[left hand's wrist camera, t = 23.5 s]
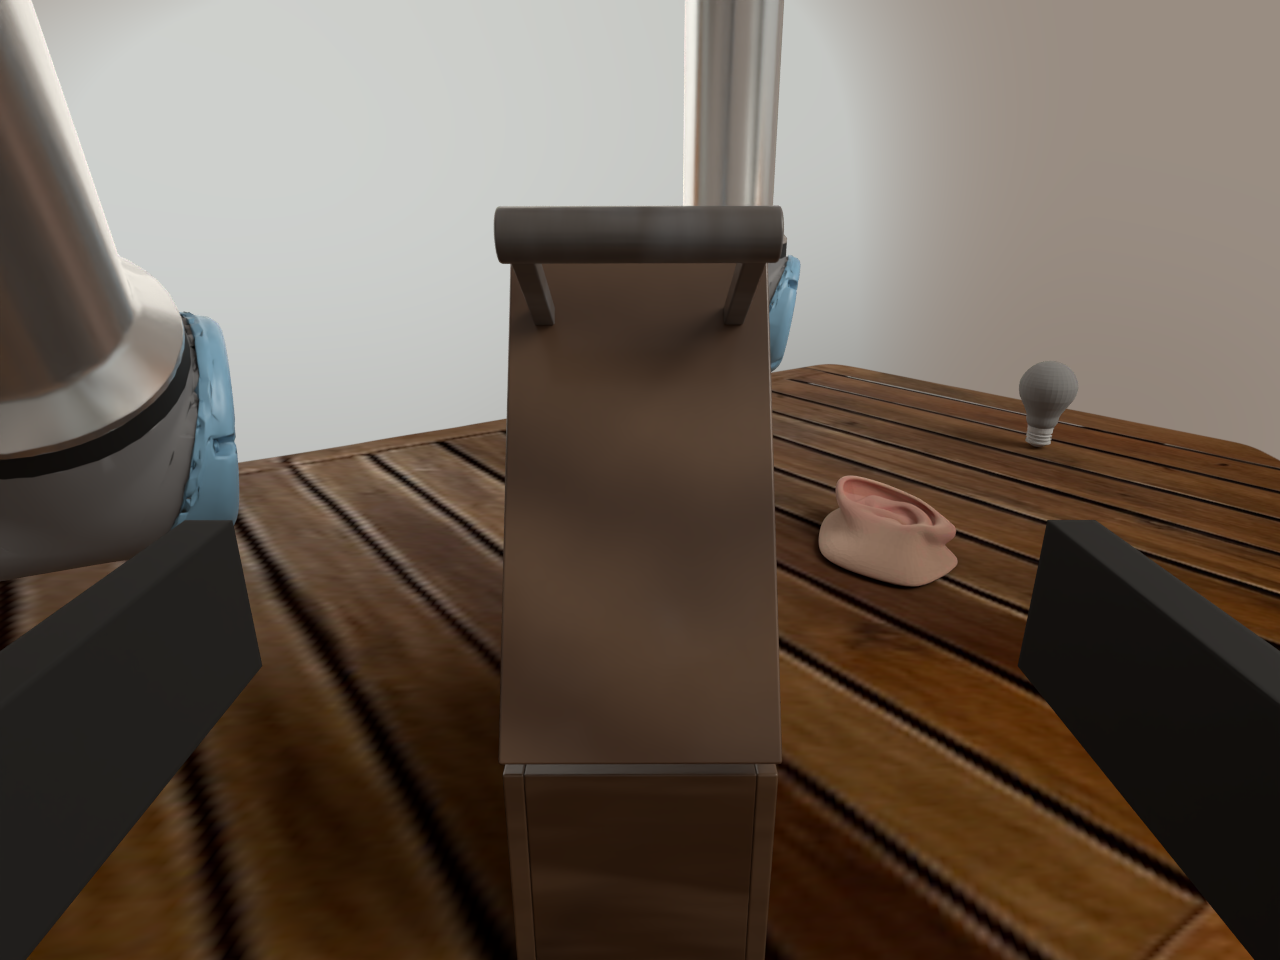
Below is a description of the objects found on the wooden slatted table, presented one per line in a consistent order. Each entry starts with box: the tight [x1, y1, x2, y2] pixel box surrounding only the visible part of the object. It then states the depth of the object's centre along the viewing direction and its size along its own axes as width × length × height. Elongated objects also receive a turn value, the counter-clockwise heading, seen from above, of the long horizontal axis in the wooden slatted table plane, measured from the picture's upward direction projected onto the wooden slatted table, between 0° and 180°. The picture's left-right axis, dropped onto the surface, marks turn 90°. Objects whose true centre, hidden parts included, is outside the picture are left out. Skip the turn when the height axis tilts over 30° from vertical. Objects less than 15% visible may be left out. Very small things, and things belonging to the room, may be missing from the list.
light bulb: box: [1019, 361, 1078, 447], centre depth 88 cm, size 6×6×10 cm
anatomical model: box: [819, 476, 958, 586], centre depth 63 cm, size 13×4×12 cm
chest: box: [503, 764, 778, 960], centre depth 35 cm, size 17×9×10 cm, turn 0°
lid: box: [494, 206, 784, 765], centre depth 23 cm, size 18×9×8 cm
